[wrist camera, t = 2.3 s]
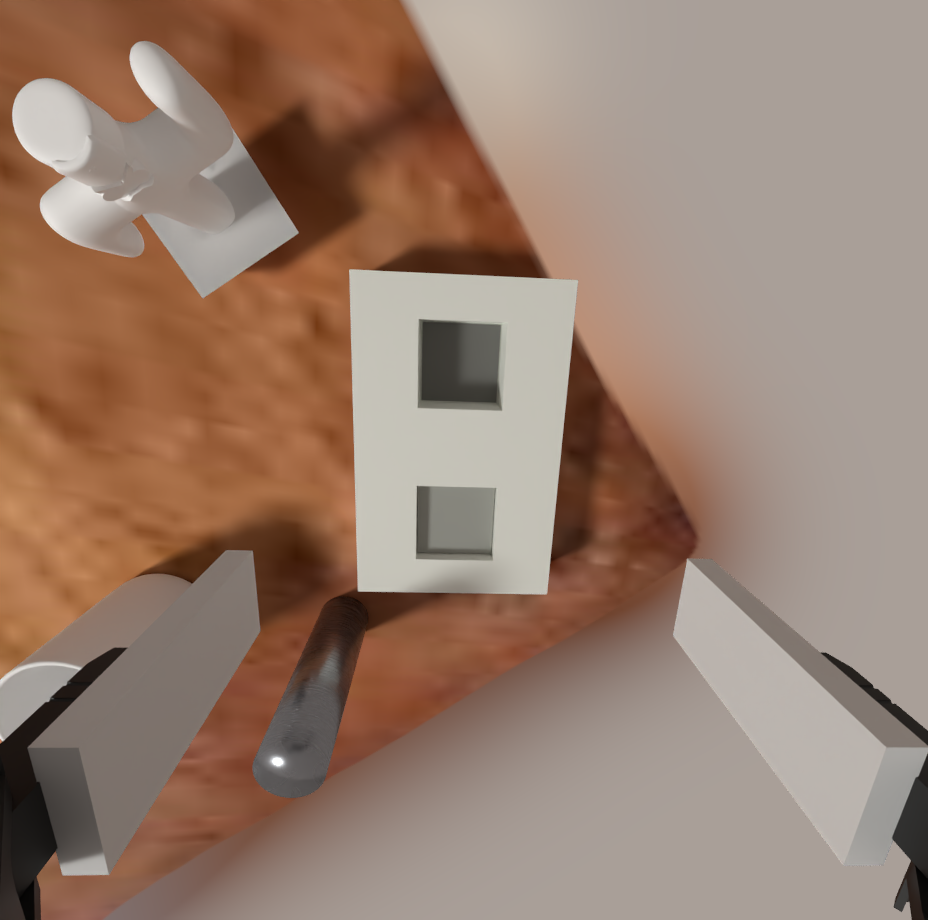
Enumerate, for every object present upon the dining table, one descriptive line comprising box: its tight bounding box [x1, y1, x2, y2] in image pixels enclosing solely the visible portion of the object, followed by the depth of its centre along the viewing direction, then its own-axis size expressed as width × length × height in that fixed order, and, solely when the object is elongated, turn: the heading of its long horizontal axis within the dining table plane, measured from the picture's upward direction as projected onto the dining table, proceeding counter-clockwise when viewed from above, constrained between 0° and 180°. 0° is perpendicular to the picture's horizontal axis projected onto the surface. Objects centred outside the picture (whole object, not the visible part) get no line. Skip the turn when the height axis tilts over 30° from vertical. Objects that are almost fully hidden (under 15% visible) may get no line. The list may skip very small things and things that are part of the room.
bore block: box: [349, 269, 578, 594], centre depth 33 cm, size 22×14×4 cm, turn 178°
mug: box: [0, 574, 192, 741], centre depth 33 cm, size 9×12×11 cm
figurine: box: [12, 41, 299, 298], centre depth 23 cm, size 7×9×15 cm
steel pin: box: [253, 597, 368, 798], centre depth 32 cm, size 4×4×14 cm
